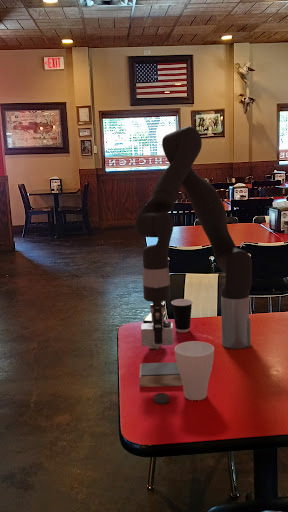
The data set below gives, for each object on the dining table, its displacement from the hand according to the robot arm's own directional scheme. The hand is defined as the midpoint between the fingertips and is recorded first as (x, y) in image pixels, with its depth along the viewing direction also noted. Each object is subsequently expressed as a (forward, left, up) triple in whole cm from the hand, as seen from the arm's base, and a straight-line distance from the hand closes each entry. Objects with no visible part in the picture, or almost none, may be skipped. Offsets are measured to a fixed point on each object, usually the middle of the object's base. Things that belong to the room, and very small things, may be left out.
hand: (158, 339), depth 140 cm
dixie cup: (-9, -41, -12) cm, 44 cm away
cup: (-9, +11, -12) cm, 19 cm away
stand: (0, 0, -12) cm, 12 cm away
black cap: (0, +13, -12) cm, 18 cm away
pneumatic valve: (+2, -25, -12) cm, 28 cm away
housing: (0, 0, -1) cm, 1 cm away
